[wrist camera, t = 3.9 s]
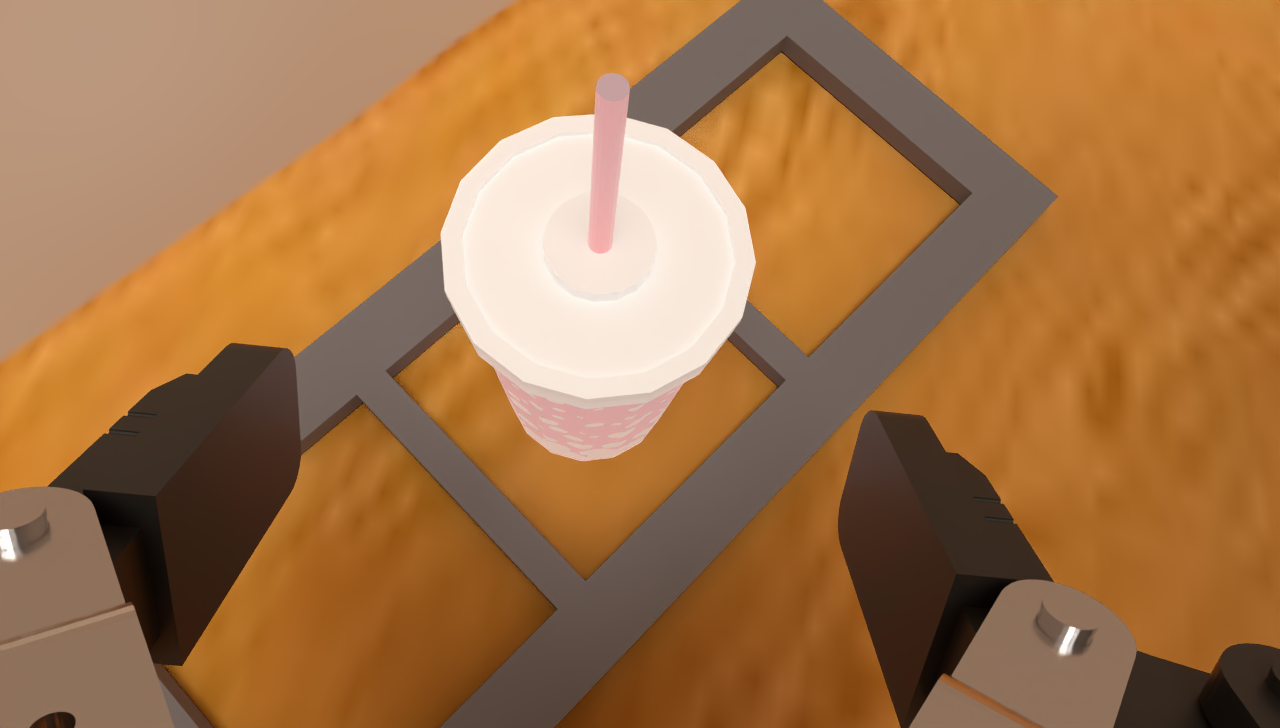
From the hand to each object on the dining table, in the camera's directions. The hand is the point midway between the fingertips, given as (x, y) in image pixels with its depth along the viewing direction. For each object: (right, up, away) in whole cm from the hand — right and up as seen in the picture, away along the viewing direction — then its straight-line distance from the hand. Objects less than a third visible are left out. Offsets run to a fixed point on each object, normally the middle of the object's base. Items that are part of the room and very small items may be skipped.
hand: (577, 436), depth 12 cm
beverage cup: (-1, 0, +13) cm, 13 cm away
